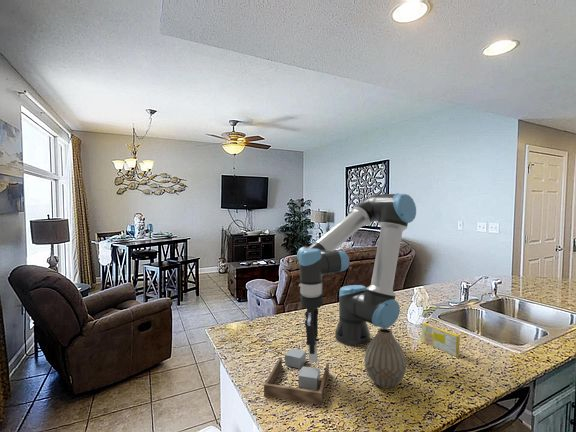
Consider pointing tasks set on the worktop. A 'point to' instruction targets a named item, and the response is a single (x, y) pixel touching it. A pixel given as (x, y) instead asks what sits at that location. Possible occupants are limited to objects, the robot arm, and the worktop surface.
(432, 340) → the candy box
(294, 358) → the tile
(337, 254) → the robot arm
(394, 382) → the vase
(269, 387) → the frame
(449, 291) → the worktop surface
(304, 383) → the light grey square block
